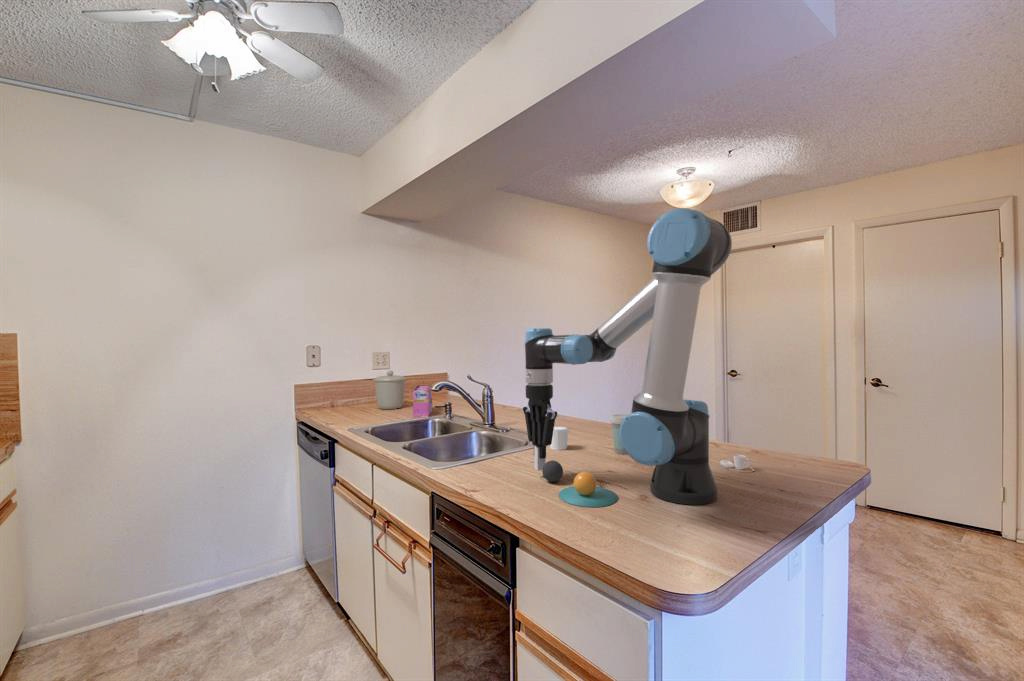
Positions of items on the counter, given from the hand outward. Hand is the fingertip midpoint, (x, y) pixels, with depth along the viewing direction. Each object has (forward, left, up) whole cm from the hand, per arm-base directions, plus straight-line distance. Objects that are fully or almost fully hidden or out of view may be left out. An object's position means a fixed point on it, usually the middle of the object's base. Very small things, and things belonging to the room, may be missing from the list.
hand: (540, 469), depth 121 cm
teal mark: (-19, 0, -2) cm, 19 cm away
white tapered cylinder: (+21, -24, -2) cm, 32 cm away
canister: (+145, -5, -2) cm, 145 cm away
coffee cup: (+4, -38, -2) cm, 38 cm away
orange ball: (-18, 0, +1) cm, 18 cm away
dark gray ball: (-6, 0, +1) cm, 6 cm away
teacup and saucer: (-26, -53, -3) cm, 59 cm away
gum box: (+117, -13, -2) cm, 118 cm away
